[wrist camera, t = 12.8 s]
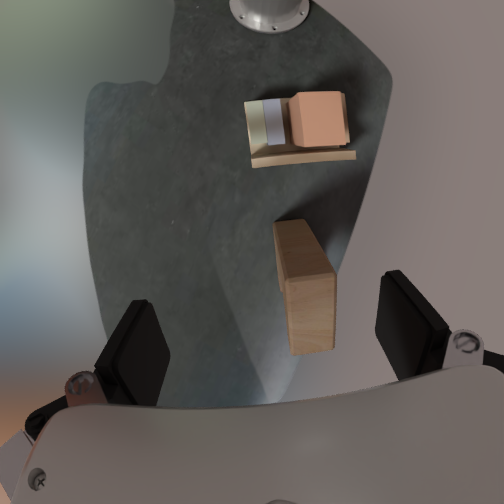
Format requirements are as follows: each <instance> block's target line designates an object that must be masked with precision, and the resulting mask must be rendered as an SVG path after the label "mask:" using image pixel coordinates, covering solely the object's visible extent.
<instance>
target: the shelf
mask: <svg viewBox="0 0 504 504" xmlns="http://www.w3.org/2000/svg"><path fill="white" fill-rule="evenodd" d="M290 99H291V98H281V99H280V98H279V99H268V100H259V101H250V102H244V104H245V112H246V119H247V126H248V134H249V141H250V149H251V160H252V168H258V167H266V166H275V165H285V164H295V163H307V162H319V161H334V160H352V159H356V151H355V150H350V149H344V148H339V145H331V146H314V147H302V146H298V145H293V144H291V142H290V134H289V125H288V117H287V109H286V103H287V102H288V101H289V100H290ZM341 101H342V110H343V119H344V128H345V139H346V143H349V142H350V140H349V129H348V119H347V110H346V102H345V94H344V93H341Z"/></svg>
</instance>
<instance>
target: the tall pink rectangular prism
mask: <svg viewBox="0 0 504 504" xmlns="http://www.w3.org/2000/svg"><path fill="white" fill-rule="evenodd" d="M286 109H287V117H288V125H289V134H290V142H291V144H293V145H298V146H302V147H314V146H331V145H346V139H345V128H344V119H343V110H342V101H341V93H340V91H320V92H298V93H297V94H296V95H295V96H294V97H292V98H291V99H290V100H289V101H288V102H287V103H286Z"/></svg>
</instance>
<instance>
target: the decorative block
mask: <svg viewBox="0 0 504 504" xmlns="http://www.w3.org/2000/svg"><path fill="white" fill-rule="evenodd" d="M273 233H274V242H275V251H276V261H277V270H278V280H279V285H280V291H281V292H282V293H283V297H284V305H285V313H286V323H287V333H288V340H289V346H290V352H291V354H292V355H294V356H295V355H302V354H309V353H316V352H321V351H328V350H333V348H334V347H335V330H336V302H337V274H336V273H335V271H334V269H333V267H332V265H331V263H330V262H329V260H328V258H327V256H326V255H325V253H324V251H323V249H322V248H321V246H320V244H319V243H318V241H317V239H316V237H315V236H314V234H313V232H312V231H311V229H310V227H309V226H308V224H307V222H306V221H305V220H304V219H296V220H287V221H279V222H274V223H273Z"/></svg>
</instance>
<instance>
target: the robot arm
mask: <svg viewBox="0 0 504 504" xmlns="http://www.w3.org/2000/svg"><path fill="white" fill-rule="evenodd" d="M230 9H231V12H232V14H233V16H234V17H235V19H236V20H237V21H238V22H239V23H240V24H241V25H243V26H245V27H246V28H248V29H250V30H253V31H256V32H260V33H266V34H278V33H284V32H287V31H290V30H292V29H294V28H296V27H297V26H299V25H300V24H301V23H302V22H303V21H304V19H305V18H306V16H307V14H308V11H309V1H308V0H230ZM300 14H302V15H300ZM240 18H243V19H240ZM273 29H276V30H273ZM375 333H376V336H377V339H378V341H379V342H380V344H381V346H382V348H383V350H384V352H385V354H386V356H387V358H388V360H389V362H390V364H391V366H392V368H393V370H394V372H395V374H396V376H397V378H398V380H399V381H396V382H392V383H388V384H384V385H380V386H375V387H371V388H366V389H362V390H358V391H352V392H347V393H342V394H337V395H332V396H325V397H319V398H312V399H306V400H298V401H291V402H282V403H272V404H261V405H248V406H230V407H158V406H156V404H157V401H158V397H159V394H160V391H161V387H162V384H163V381H164V377H165V374H166V371H167V367H168V364H169V361H170V351H169V348H168V346H167V343H166V341H165V338H164V335H163V333H162V330H161V327H160V325H159V322H158V319H157V316H156V314H155V311H154V308H153V305H152V303H148V301H147V300H146V299H144V300H133V301H132V302H131V304H130V305H129V307H128V309H127V310H126V312H125V314H124V315H123V317H122V319H121V320H120V322H119V323H118V325H117V327H116V329H115V330H114V332H113V334H112V335H111V337H110V339H109V340H108V342H107V344H106V346H105V347H104V349H103V351H102V353H101V354H100V356H99V358H98V360H97V362H96V363H95V365H94V366H95V368H96V369H95V370H94V372H91V371H81V372H78V373H76V374H74V375H72V376H71V377H70V378H69V379H68V381H67V382H66V384H65V396H63V397H61V398H59V399H57V400H55V401H53V402H51V403H49V404H47V405H45V406H43V407H41V408H39V409H37V410H35V411H34V412H33V413H31V414H30V415H29V417H28V418H27V420H26V422H25V431H22V429H21V430H20V431H18V432H17V433H16V434H15V435H14V436H12V437H11V438H10V439H9V440H8V441H7V442H6V443H4V444H3V445H2V446H1V447H0V482H1V484H2V486H3V488H4V490H5V491H6V493H7V495H8V497H9V498H10V500H11V504H504V355H500V354H497V353H493V352H490V351H486V350H484V343H483V340H482V338H481V337H480V336H479V335H478V334H476V333H475V332H472V331H470V330H464V329H463V330H457V331H455V332H453V333H452V332H451V331H450V329H449V326H448V325H447V323H446V322H445V321H444V320H443V318H442V317H441V316H440V315H439V314H438V312H437V311H436V310H435V309H434V308H433V307H432V305H431V304H430V303H429V302H428V301H427V300H426V298H425V297H424V296H423V295H422V294H421V293H420V292H419V291H418V289H417V288H416V287H415V286H414V285H413V284H412V283H411V282H410V281H409V279H408V278H407V277H406V276H405V275H404V274H403V273H402V272H401V271H400V270H393V271H387V272H386V273H385V275H384V276H382V277H381V285H380V294H379V303H378V311H377V318H376V326H375Z"/></svg>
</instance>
